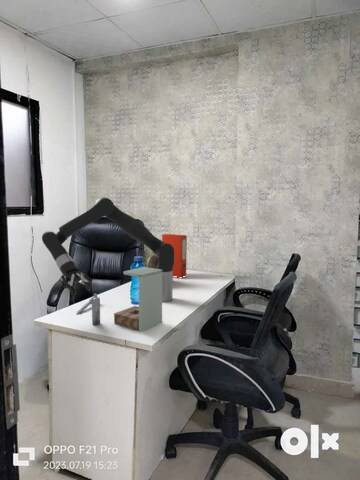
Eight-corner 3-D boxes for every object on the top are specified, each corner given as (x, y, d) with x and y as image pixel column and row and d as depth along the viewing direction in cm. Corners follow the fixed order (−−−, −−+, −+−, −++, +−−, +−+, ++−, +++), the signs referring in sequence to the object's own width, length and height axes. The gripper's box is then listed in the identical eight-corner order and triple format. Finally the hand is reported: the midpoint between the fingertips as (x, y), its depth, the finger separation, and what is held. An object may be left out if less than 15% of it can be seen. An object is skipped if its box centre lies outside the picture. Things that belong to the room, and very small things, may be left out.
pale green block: (123, 326, 153) (123, 271, 151) (144, 318, 165) (143, 266, 162) (142, 331, 147) (142, 274, 144) (162, 322, 159) (162, 269, 156)
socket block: (114, 323, 157) (114, 313, 156) (134, 315, 168) (134, 305, 168) (137, 330, 149) (137, 319, 148) (156, 321, 160) (157, 311, 160)
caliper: (96, 303, 189) (95, 292, 188) (97, 303, 189) (97, 292, 188) (75, 315, 169) (75, 302, 169) (77, 315, 169) (77, 302, 168)
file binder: (167, 274, 268) (168, 233, 265) (186, 276, 259) (186, 235, 255) (161, 275, 261) (161, 234, 258) (180, 278, 252) (180, 235, 249)
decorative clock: (154, 278, 251) (154, 238, 248) (170, 280, 247) (171, 239, 244) (136, 287, 225) (136, 242, 222) (154, 289, 221) (154, 243, 218)
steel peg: (93, 322, 158) (92, 297, 157) (101, 322, 158) (100, 297, 157) (91, 325, 154) (90, 299, 153) (99, 325, 154) (98, 299, 153)
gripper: (57, 262, 158) (73, 290, 152) (81, 258, 169) (98, 284, 164) (50, 272, 161) (66, 299, 156) (75, 267, 173) (90, 293, 168)
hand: (82, 291), depth 160 cm, fingers open, 8 cm apart
